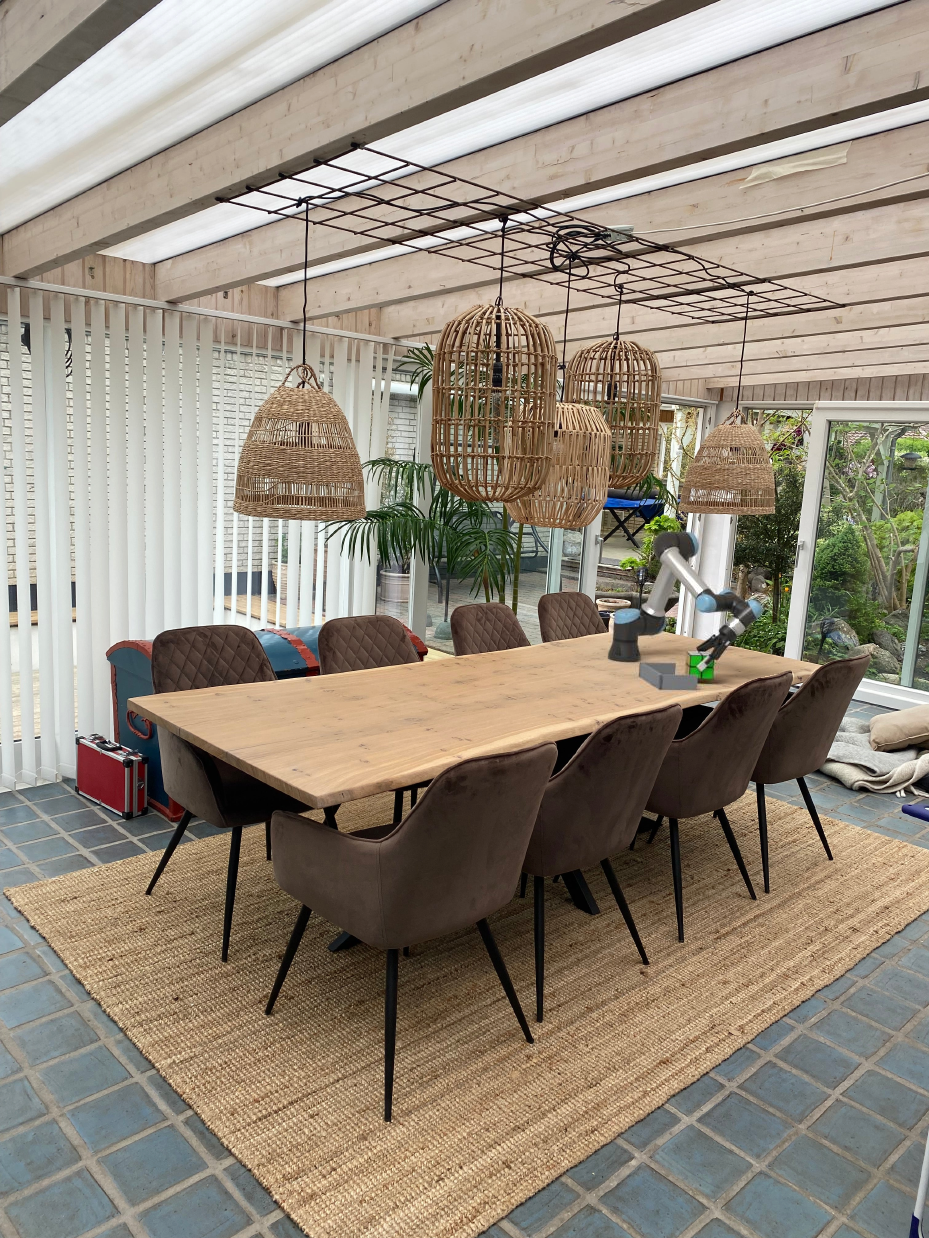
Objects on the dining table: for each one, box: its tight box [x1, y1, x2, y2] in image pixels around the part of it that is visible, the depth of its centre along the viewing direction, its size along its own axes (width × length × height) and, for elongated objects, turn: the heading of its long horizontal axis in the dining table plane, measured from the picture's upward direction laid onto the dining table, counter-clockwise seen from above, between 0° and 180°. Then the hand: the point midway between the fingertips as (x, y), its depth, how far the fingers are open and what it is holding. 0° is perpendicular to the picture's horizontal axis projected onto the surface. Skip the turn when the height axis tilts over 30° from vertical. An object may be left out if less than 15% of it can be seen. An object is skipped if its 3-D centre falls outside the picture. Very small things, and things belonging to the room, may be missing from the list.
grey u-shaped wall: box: [638, 662, 699, 691], centre depth 369 cm, size 25×16×6 cm, turn 7°
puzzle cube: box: [684, 650, 715, 680], centre depth 374 cm, size 10×10×10 cm
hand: (693, 666), depth 373 cm, fingers closed on puzzle cube, 11 cm apart
